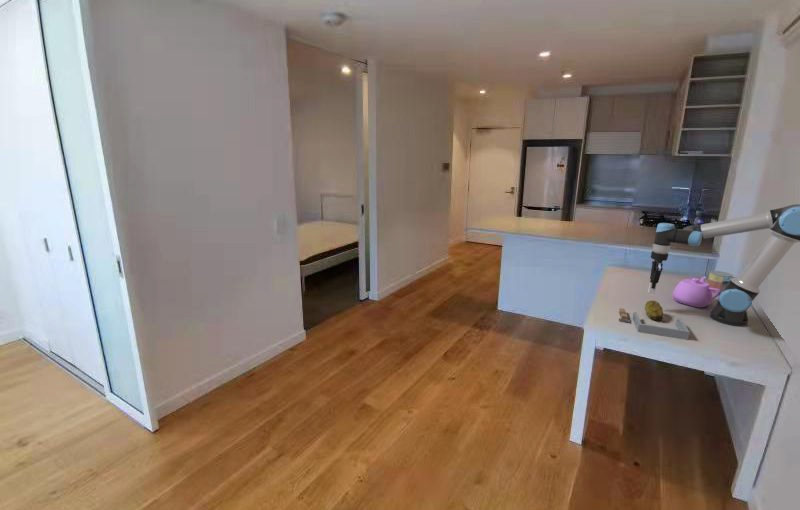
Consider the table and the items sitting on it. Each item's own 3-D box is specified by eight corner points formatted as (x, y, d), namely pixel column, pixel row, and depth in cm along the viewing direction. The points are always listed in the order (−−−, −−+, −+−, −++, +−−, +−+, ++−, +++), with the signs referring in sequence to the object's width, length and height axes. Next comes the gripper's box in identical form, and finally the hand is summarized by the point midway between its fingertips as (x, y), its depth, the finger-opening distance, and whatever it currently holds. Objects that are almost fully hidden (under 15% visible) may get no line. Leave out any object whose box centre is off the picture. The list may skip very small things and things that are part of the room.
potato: (643, 319, 197) (645, 305, 195) (643, 311, 207) (646, 297, 205) (662, 323, 193) (665, 309, 190) (661, 314, 203) (664, 301, 201)
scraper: (616, 311, 207) (617, 307, 206) (626, 313, 205) (627, 309, 204) (619, 321, 194) (620, 317, 193) (630, 323, 192) (631, 319, 192)
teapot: (710, 313, 205) (717, 287, 201) (667, 301, 222) (672, 277, 218) (726, 304, 217) (732, 280, 213) (683, 293, 234) (689, 270, 230)
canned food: (719, 288, 243) (724, 271, 240) (733, 295, 233) (737, 276, 229) (701, 287, 245) (705, 270, 241) (713, 294, 234) (718, 275, 231)
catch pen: (678, 325, 190) (680, 318, 189) (688, 339, 176) (689, 332, 175) (632, 318, 198) (633, 311, 197) (637, 331, 183) (639, 324, 182)
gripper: (649, 248, 207) (641, 288, 214) (654, 254, 196) (645, 296, 202) (665, 250, 204) (656, 290, 211) (671, 255, 193) (661, 298, 199)
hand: (651, 293), depth 207 cm, fingers closed
